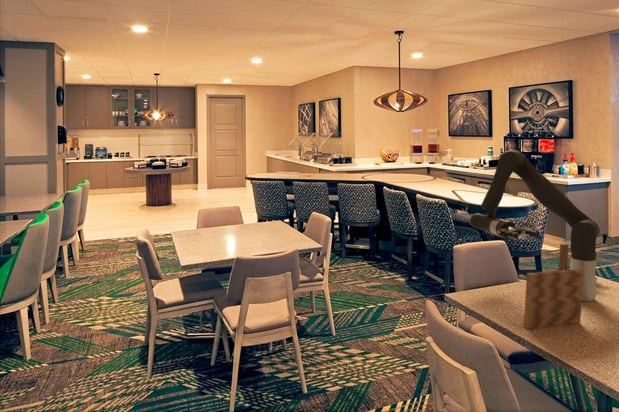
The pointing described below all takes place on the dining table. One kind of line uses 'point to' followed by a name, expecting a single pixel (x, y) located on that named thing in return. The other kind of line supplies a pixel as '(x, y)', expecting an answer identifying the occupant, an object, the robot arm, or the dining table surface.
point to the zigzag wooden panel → (553, 298)
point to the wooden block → (563, 257)
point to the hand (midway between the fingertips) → (526, 235)
